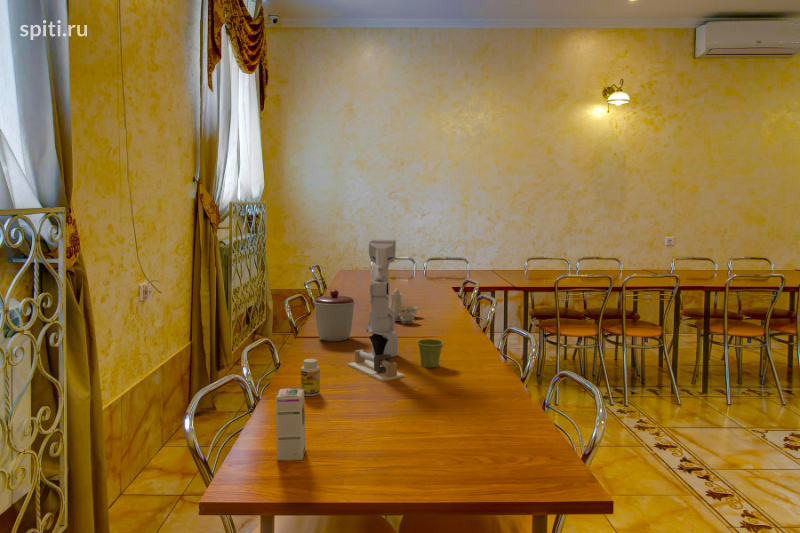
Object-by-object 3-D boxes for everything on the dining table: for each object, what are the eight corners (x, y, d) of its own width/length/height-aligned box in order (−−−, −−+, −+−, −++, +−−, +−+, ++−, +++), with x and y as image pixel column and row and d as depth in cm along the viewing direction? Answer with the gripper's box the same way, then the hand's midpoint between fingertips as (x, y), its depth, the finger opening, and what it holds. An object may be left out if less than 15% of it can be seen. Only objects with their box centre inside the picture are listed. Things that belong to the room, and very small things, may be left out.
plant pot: (447, 364, 201) (447, 340, 201) (437, 371, 193) (438, 346, 192) (422, 361, 205) (423, 337, 204) (412, 367, 197) (413, 343, 196)
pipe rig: (347, 365, 198) (347, 351, 198) (369, 361, 203) (369, 348, 203) (381, 381, 180) (381, 365, 180) (404, 376, 185) (404, 361, 185)
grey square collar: (374, 370, 187) (374, 355, 187) (387, 368, 190) (387, 353, 190) (377, 372, 185) (378, 357, 185) (390, 370, 188) (391, 354, 188)
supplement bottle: (297, 395, 165) (297, 361, 164) (306, 390, 171) (306, 357, 170) (314, 397, 164) (314, 363, 163) (322, 392, 169) (322, 358, 168)
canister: (344, 345, 228) (345, 294, 225) (305, 341, 233) (305, 291, 231) (362, 336, 245) (362, 288, 243) (324, 333, 250) (324, 286, 248)
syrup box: (303, 460, 123) (302, 395, 121) (275, 461, 122) (275, 396, 121) (305, 449, 128) (305, 387, 127) (279, 449, 128) (278, 388, 126)
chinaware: (417, 329, 268) (421, 295, 266) (382, 325, 268) (386, 291, 266) (417, 318, 296) (420, 287, 294) (385, 314, 296) (389, 283, 294)
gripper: (358, 314, 191) (358, 353, 193) (381, 321, 180) (380, 363, 181) (375, 312, 195) (375, 350, 197) (399, 319, 184) (398, 360, 185)
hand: (379, 356), depth 189 cm, fingers closed
